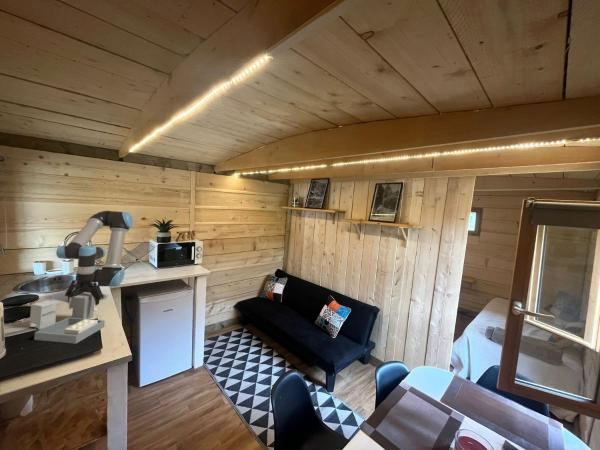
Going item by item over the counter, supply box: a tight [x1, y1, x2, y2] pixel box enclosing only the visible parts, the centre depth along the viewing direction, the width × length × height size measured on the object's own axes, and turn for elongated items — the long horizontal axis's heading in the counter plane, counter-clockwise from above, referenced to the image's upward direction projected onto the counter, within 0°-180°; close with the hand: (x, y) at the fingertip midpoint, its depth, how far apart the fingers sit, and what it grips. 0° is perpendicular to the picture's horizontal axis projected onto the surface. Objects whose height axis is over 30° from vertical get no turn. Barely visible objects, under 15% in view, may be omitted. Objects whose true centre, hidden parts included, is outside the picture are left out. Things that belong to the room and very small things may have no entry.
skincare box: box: [71, 292, 94, 319], centre depth 145 cm, size 8×7×16 cm
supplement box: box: [29, 300, 58, 330], centre depth 136 cm, size 7×7×13 cm
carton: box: [64, 319, 99, 335], centre depth 130 cm, size 12×7×6 cm, turn 1°
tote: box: [33, 316, 105, 345], centre depth 130 cm, size 18×20×4 cm
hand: (83, 309), depth 145 cm, fingers open, 13 cm apart
